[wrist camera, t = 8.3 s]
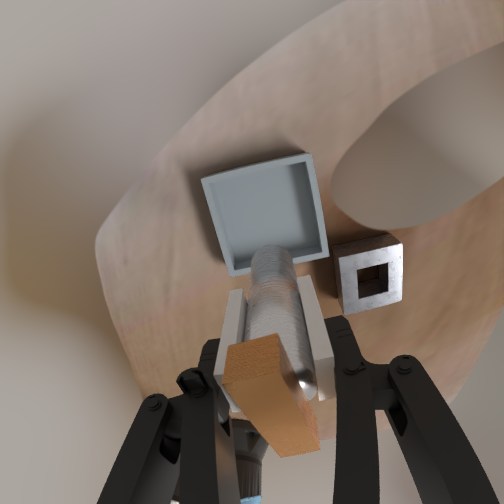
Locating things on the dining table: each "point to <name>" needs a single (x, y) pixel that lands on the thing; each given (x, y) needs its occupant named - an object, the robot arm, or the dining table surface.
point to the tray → (267, 210)
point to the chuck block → (361, 256)
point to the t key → (275, 358)
